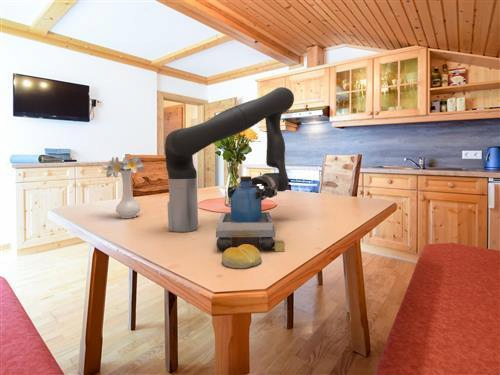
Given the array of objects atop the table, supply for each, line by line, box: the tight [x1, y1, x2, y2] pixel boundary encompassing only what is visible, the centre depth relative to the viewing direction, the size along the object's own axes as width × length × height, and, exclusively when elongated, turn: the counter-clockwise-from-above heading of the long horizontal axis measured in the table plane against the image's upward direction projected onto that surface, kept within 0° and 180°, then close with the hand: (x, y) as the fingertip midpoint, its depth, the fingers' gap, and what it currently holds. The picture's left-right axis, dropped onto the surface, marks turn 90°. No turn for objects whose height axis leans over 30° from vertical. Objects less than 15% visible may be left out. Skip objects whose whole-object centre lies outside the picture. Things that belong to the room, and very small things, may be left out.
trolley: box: [215, 211, 286, 253], centre depth 80 cm, size 18×15×8 cm
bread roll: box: [221, 243, 263, 269], centre depth 66 cm, size 8×9×4 cm
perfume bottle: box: [230, 175, 263, 222], centre depth 80 cm, size 6×6×12 cm
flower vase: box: [101, 155, 147, 219], centre depth 116 cm, size 13×18×25 cm
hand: (243, 194), depth 77 cm, fingers closed on perfume bottle, 7 cm apart
